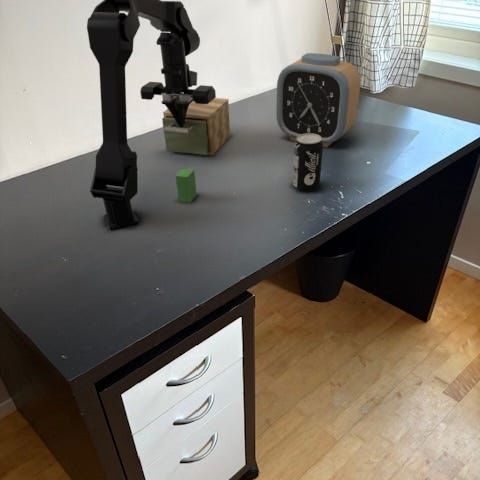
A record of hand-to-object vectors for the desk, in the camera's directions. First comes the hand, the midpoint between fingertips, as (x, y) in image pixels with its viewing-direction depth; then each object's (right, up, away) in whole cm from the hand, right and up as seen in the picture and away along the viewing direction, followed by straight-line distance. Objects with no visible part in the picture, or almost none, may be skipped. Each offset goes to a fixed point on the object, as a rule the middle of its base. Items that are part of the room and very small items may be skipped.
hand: (181, 126), depth 127 cm
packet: (+3, -22, -12) cm, 25 cm away
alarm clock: (+37, +1, +12) cm, 39 cm away
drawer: (+2, -2, +9) cm, 9 cm away
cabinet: (+4, +1, +13) cm, 14 cm away
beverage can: (+32, -19, -10) cm, 38 cm away
